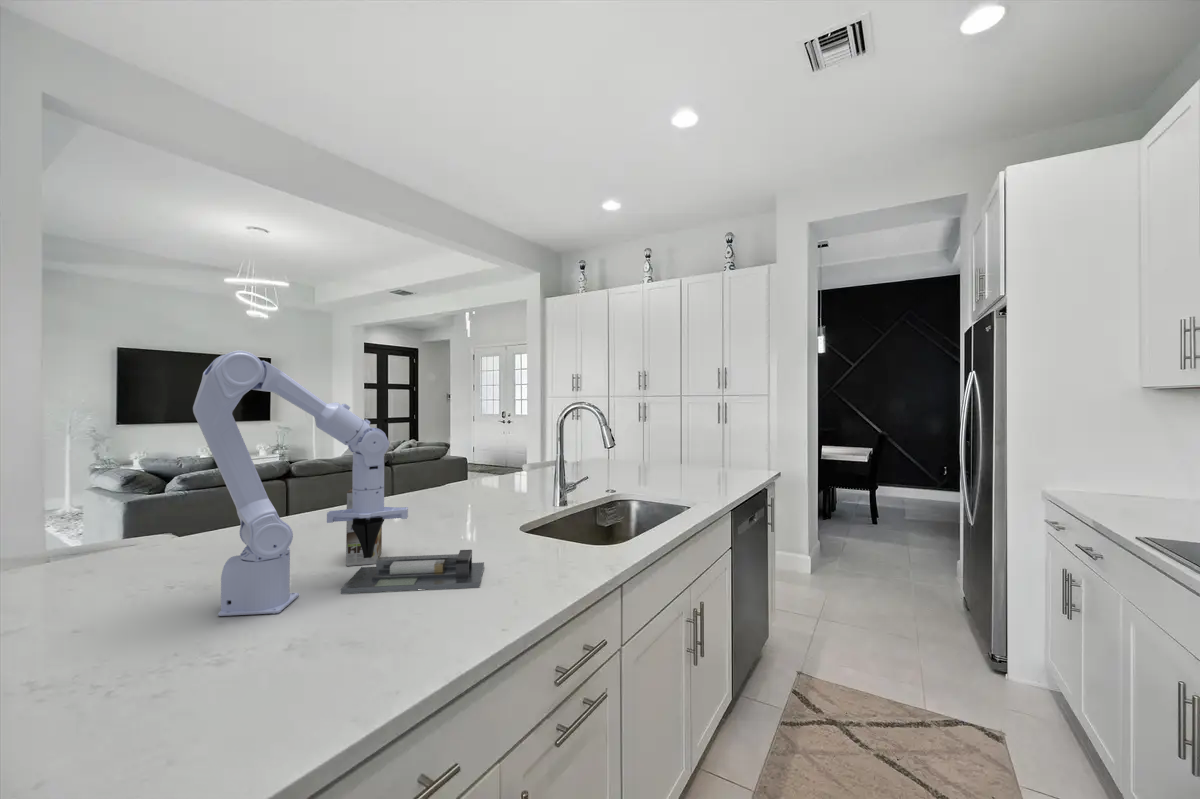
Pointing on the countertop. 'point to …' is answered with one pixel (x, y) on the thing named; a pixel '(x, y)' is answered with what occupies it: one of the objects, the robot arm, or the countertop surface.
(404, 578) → the heatsink base
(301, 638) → the countertop surface
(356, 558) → the coffee box
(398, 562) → the rectangular block
